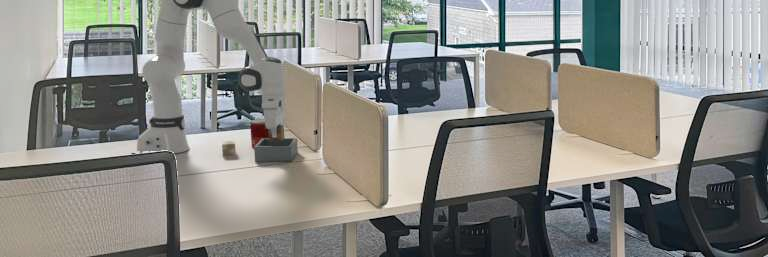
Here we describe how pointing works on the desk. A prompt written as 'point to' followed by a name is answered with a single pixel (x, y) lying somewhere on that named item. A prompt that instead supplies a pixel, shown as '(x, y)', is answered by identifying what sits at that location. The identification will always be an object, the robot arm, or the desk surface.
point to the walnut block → (279, 134)
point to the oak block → (228, 148)
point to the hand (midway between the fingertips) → (276, 135)
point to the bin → (276, 150)
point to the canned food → (258, 131)
